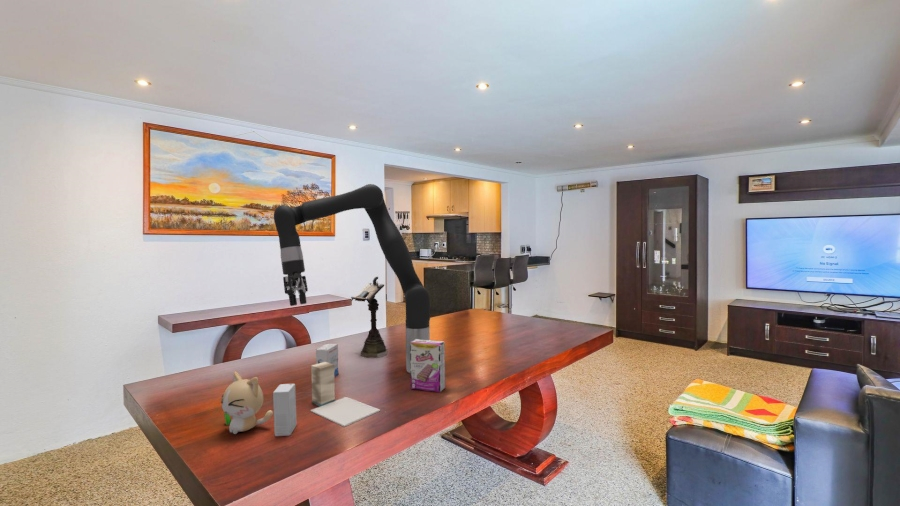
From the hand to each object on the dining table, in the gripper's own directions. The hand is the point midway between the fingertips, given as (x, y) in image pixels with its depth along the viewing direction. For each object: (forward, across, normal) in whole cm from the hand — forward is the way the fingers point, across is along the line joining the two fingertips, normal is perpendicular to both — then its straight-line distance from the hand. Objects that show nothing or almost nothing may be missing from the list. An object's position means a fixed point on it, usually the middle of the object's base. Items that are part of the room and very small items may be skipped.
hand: (298, 304), depth 149 cm
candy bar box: (+36, -4, -42) cm, 55 cm away
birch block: (+32, -15, -10) cm, 37 cm away
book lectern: (+28, +36, -14) cm, 47 cm away
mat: (+34, -22, -19) cm, 45 cm away
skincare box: (+33, -35, -6) cm, 49 cm away
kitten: (+31, -34, +6) cm, 46 cm away
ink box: (+29, +8, -4) cm, 30 cm away
